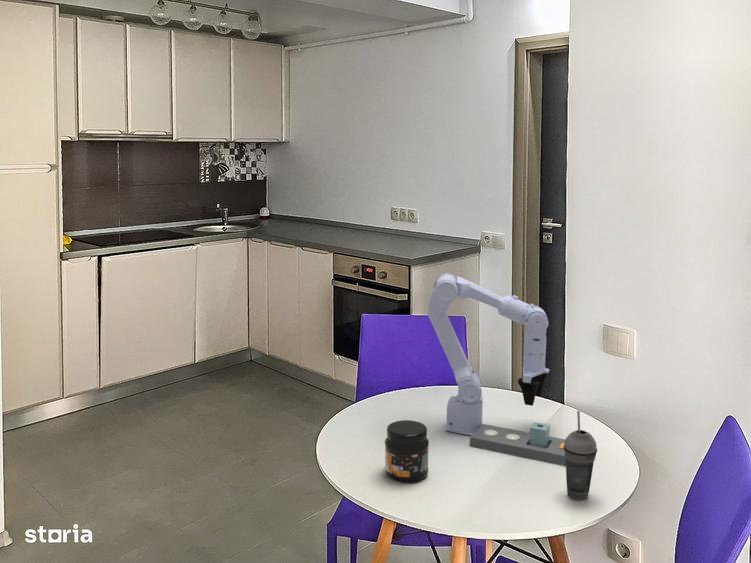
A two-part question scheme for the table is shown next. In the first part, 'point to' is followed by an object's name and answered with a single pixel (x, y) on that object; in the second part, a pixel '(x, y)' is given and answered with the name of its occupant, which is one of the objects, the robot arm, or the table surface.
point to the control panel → (517, 444)
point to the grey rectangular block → (539, 435)
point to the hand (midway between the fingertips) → (532, 400)
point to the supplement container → (406, 451)
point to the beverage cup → (579, 462)
